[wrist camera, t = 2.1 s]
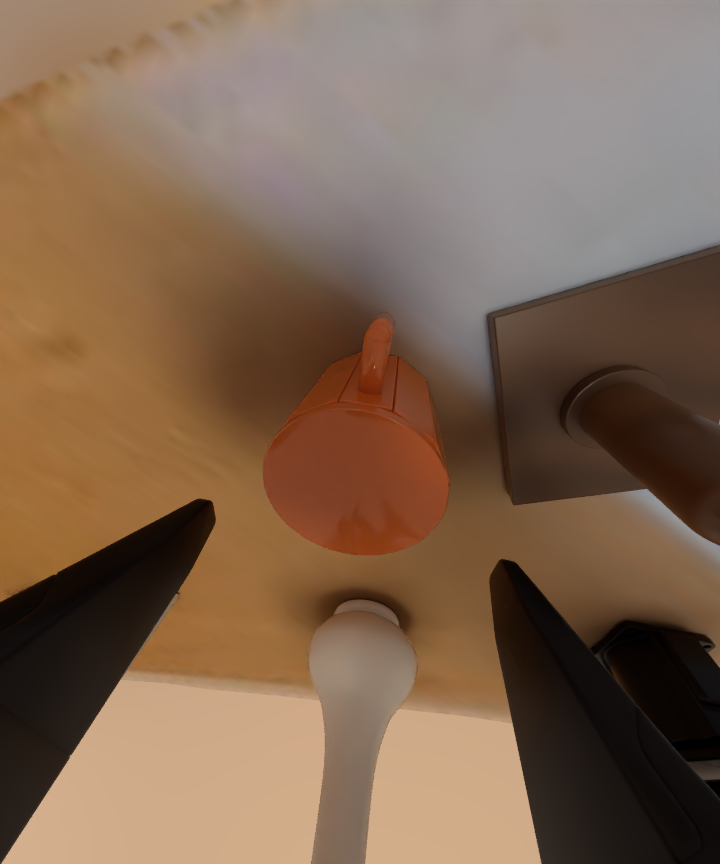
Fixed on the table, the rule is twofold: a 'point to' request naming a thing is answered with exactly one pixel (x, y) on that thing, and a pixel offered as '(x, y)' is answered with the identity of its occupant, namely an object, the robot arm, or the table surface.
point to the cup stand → (616, 390)
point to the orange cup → (361, 455)
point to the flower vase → (355, 716)
